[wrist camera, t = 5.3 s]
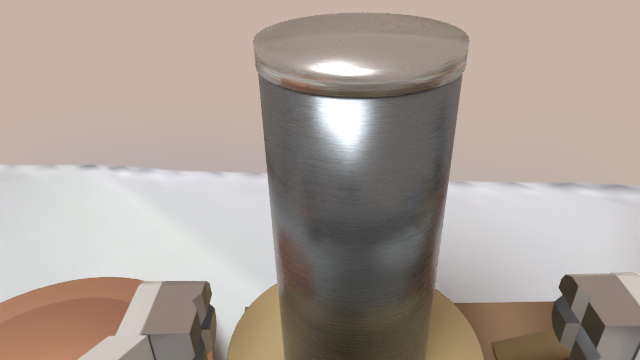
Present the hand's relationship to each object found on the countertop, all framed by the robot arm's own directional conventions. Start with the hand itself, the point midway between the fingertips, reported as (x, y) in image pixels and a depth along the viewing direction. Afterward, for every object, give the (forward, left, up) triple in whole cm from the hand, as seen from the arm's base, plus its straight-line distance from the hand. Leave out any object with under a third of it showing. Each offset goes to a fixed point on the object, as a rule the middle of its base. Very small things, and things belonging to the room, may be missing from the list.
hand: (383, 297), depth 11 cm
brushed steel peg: (0, +4, -6) cm, 7 cm away
